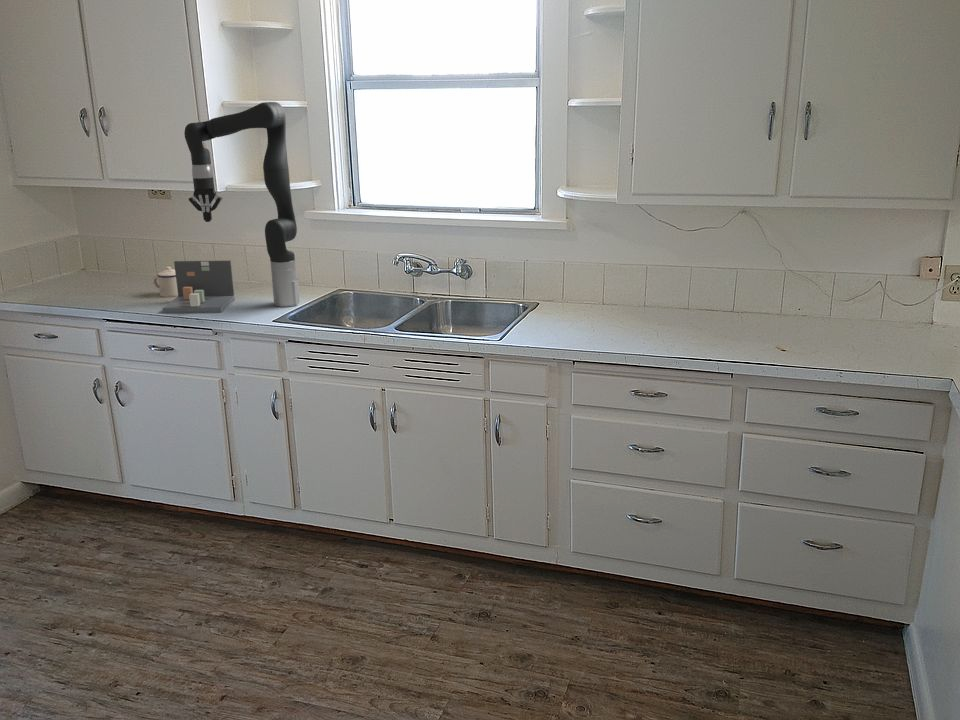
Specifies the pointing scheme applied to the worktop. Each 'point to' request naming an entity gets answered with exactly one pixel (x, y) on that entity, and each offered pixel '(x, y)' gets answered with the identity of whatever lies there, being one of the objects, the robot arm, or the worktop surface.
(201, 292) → the sage slider
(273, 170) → the robot arm
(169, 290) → the teacup with lid
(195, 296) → the cream slider
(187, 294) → the terracotta slider
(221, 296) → the switch unit
